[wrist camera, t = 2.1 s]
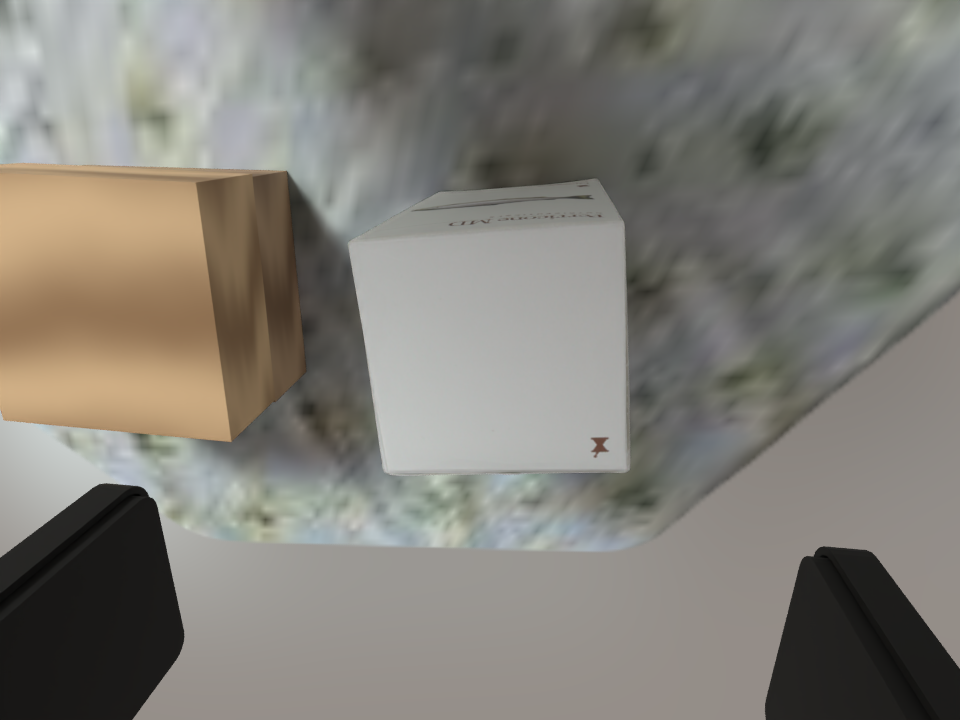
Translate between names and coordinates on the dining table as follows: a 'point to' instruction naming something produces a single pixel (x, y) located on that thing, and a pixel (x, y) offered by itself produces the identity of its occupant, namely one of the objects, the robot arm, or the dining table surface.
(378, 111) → the dining table surface
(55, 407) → the tower top
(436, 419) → the supplement box
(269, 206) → the tower base
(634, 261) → the dining table surface
